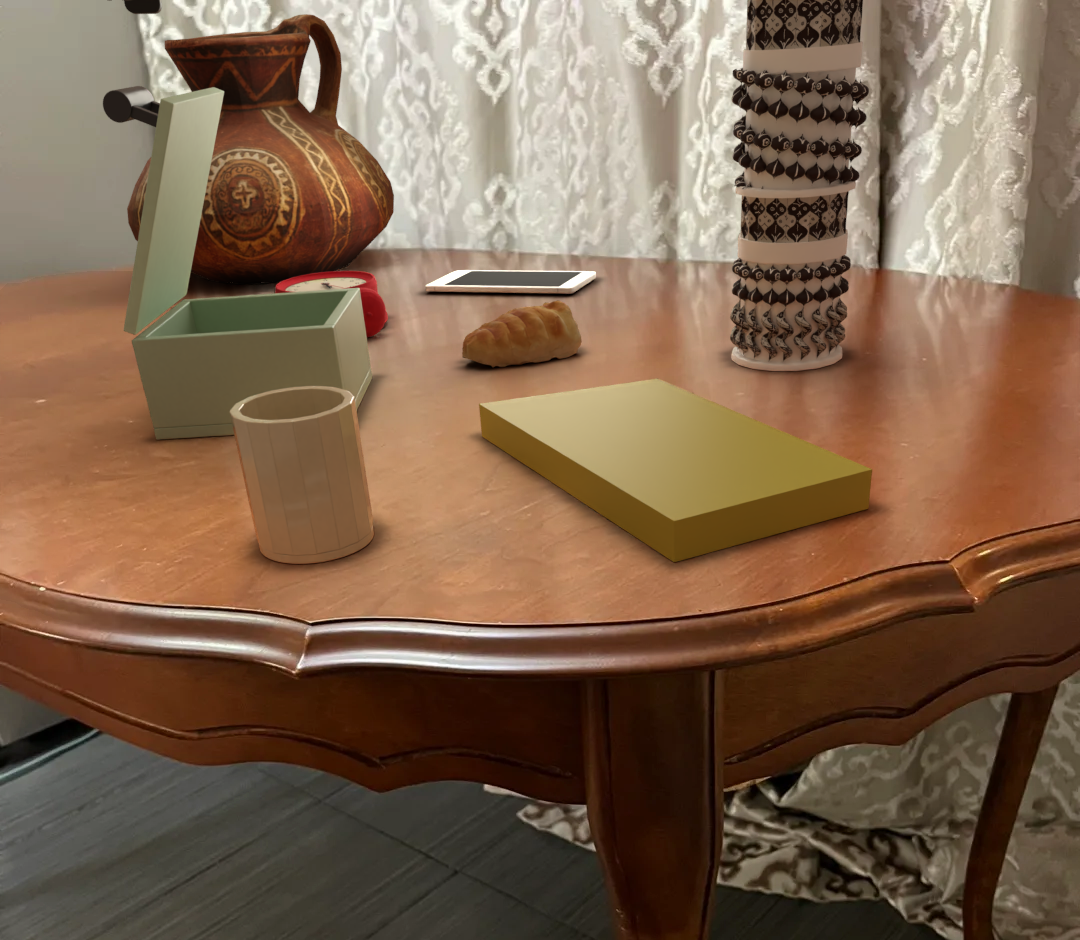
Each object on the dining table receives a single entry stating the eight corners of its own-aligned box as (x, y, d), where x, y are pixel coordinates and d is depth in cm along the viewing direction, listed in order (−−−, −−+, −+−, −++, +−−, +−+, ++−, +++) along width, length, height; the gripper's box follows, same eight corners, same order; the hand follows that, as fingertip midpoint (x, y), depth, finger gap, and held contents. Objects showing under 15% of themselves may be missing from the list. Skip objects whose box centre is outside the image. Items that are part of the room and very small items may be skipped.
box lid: (224, 91, 77) (149, 61, 76) (173, 103, 67) (85, 68, 66) (186, 295, 85) (117, 270, 84) (135, 335, 74) (55, 307, 73)
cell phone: (456, 276, 120) (455, 269, 120) (597, 277, 115) (597, 271, 114) (424, 292, 114) (423, 285, 114) (571, 294, 109) (571, 287, 108)
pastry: (486, 376, 86) (481, 325, 84) (448, 360, 91) (443, 311, 89) (589, 353, 90) (587, 304, 88) (547, 339, 95) (544, 292, 93)
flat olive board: (868, 508, 60) (640, 402, 78) (872, 469, 58) (639, 370, 77) (674, 562, 55) (482, 436, 74) (674, 521, 54) (478, 403, 73)
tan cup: (248, 567, 58) (216, 426, 54) (272, 521, 63) (245, 389, 59) (366, 560, 58) (343, 418, 54) (380, 515, 63) (361, 382, 59)
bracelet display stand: (703, 352, 88) (708, -28, 75) (803, 334, 91) (826, -36, 77) (765, 379, 81) (782, -37, 67) (872, 359, 83) (910, -45, 70)
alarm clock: (376, 267, 108) (386, 255, 94) (386, 335, 110) (397, 333, 96) (267, 279, 106) (261, 268, 92) (280, 348, 108) (275, 347, 94)
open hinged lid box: (372, 377, 88) (359, 287, 84) (348, 428, 77) (333, 326, 74) (202, 388, 88) (182, 299, 85) (156, 439, 78) (130, 340, 74)
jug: (315, 300, 115) (268, 13, 101) (83, 296, 125) (13, 35, 112) (439, 245, 138) (414, 6, 125) (235, 245, 148) (192, 24, 135)
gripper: (36, -304, 66) (93, 19, 73) (-42, -408, 53) (37, -6, 61) (167, -302, 67) (210, 17, 74) (120, -403, 54) (178, -7, 62)
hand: (132, 6), depth 68 cm, fingers open, 8 cm apart
